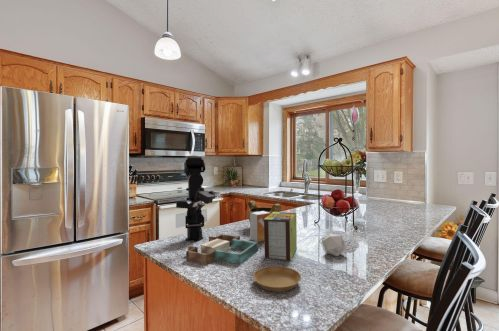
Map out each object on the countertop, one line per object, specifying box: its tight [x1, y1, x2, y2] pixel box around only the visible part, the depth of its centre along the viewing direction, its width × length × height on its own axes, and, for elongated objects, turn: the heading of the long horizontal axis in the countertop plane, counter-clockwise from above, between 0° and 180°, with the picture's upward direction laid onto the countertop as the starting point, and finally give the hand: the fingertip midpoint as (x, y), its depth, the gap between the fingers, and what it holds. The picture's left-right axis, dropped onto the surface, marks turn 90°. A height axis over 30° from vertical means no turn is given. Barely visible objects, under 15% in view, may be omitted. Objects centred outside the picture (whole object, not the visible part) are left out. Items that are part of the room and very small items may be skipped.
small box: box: [249, 211, 271, 243], centre depth 127 cm, size 8×6×13 cm
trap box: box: [185, 233, 259, 265], centre depth 109 cm, size 24×26×4 cm
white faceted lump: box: [321, 232, 347, 257], centre depth 106 cm, size 8×9×10 cm
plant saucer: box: [252, 265, 302, 293], centre depth 82 cm, size 15×15×3 cm
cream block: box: [200, 239, 231, 254], centre depth 111 cm, size 7×10×4 cm
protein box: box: [263, 211, 298, 262], centre depth 108 cm, size 10×15×16 cm
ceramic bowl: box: [247, 200, 282, 223], centre depth 147 cm, size 22×17×15 cm
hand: (195, 221), depth 115 cm, fingers closed
